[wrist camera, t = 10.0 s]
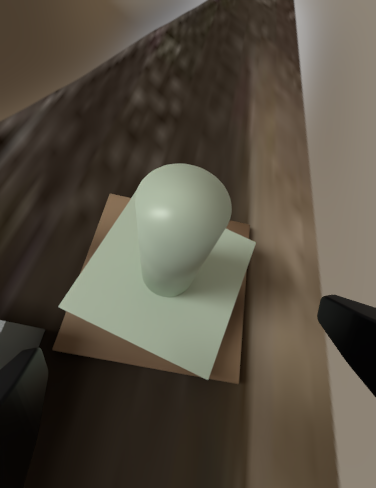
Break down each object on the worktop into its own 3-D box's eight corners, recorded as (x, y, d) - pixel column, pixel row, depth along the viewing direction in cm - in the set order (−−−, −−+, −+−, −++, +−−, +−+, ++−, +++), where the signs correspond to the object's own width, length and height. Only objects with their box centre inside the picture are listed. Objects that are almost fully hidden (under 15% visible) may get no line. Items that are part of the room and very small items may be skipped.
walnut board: (235, 382, 15) (238, 384, 15) (55, 350, 14) (52, 349, 14) (247, 228, 20) (249, 224, 19) (111, 198, 19) (110, 193, 18)
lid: (202, 377, 14) (276, 414, 6) (67, 311, 15) (-42, 258, 6) (247, 250, 18) (332, 164, 10) (138, 200, 19) (130, 76, 10)
